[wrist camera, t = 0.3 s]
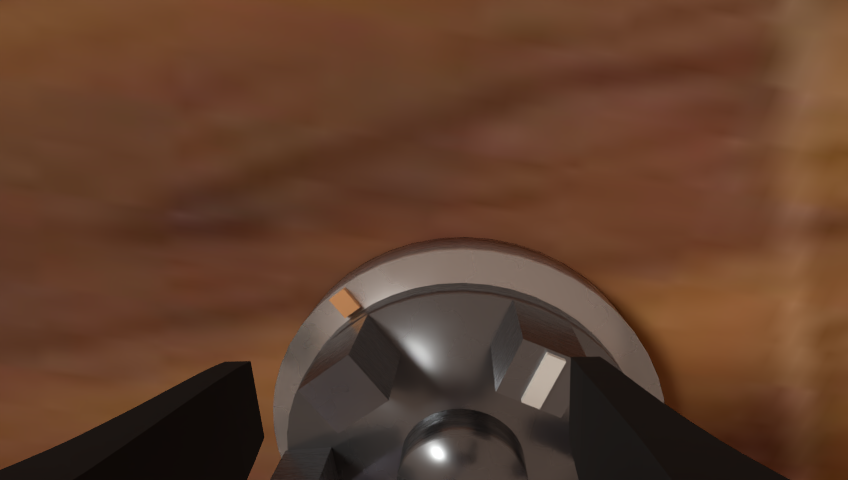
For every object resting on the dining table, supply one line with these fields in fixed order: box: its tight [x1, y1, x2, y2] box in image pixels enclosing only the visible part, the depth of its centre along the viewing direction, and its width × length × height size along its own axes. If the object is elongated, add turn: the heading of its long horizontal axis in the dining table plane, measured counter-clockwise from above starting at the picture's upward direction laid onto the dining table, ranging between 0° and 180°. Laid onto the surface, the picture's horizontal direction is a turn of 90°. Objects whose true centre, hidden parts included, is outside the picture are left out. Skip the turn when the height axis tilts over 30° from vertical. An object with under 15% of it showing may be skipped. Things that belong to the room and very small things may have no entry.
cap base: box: [273, 237, 664, 458], centre depth 21 cm, size 17×17×2 cm
